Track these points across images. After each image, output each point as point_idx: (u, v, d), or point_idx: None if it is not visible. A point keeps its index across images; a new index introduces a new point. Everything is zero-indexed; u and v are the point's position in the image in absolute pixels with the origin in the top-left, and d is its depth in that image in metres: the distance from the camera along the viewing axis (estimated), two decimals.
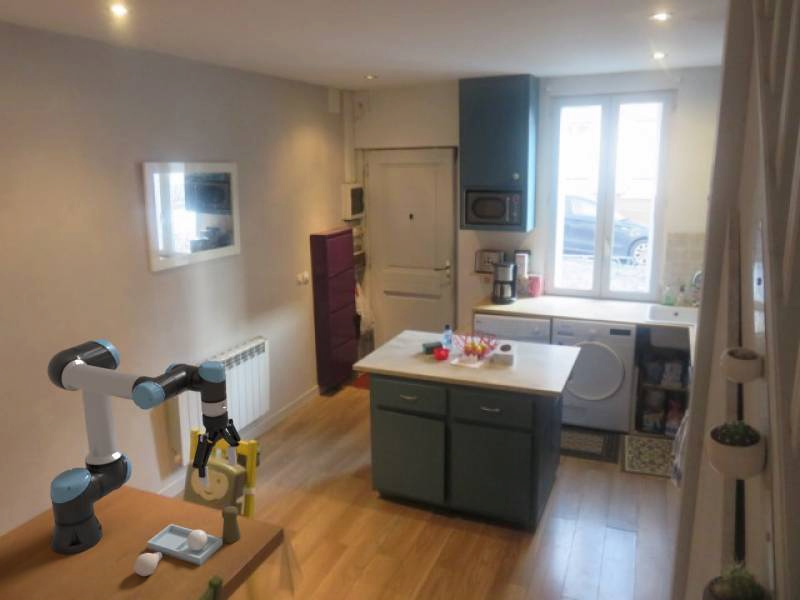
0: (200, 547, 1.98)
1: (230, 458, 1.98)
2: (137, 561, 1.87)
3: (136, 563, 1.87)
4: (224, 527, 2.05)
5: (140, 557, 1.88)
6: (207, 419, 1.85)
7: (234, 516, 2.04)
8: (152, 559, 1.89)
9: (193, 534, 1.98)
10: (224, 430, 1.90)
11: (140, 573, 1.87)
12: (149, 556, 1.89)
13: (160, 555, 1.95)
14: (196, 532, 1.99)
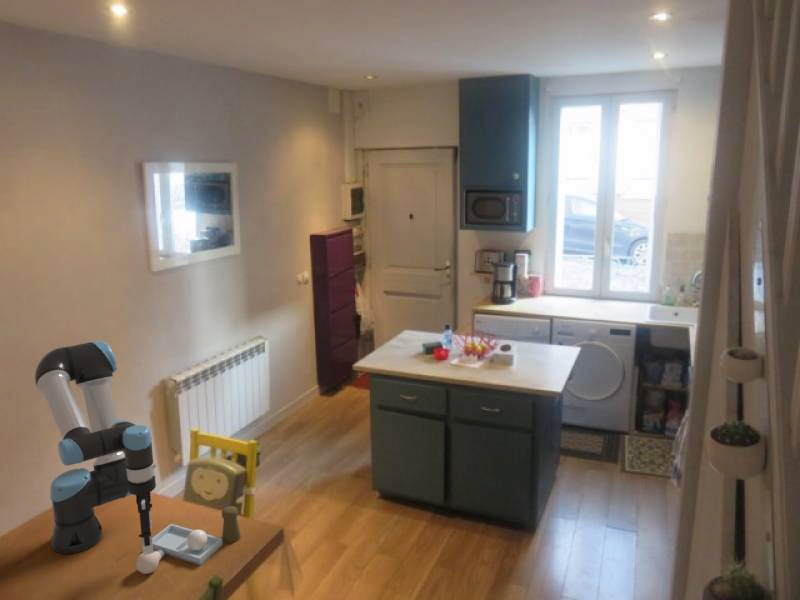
0: (200, 547, 1.98)
1: None
2: (139, 559, 1.88)
3: (138, 561, 1.88)
4: (224, 527, 2.05)
5: (142, 555, 1.89)
6: (142, 486, 1.81)
7: (234, 516, 2.04)
8: (154, 557, 1.90)
9: (193, 534, 1.98)
10: None
11: (142, 571, 1.88)
12: (151, 554, 1.90)
13: (162, 553, 1.96)
14: (196, 532, 1.99)
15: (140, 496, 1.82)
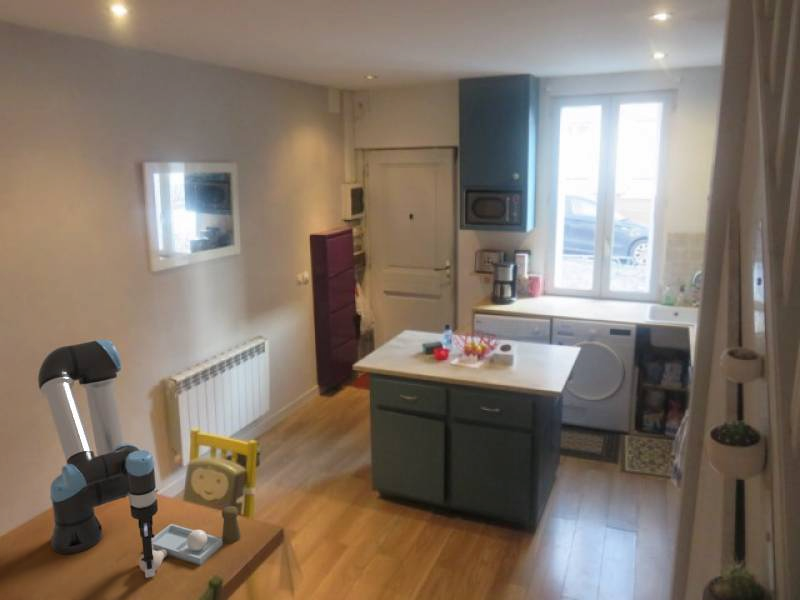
0: (200, 547, 1.98)
1: None
2: None
3: None
4: (224, 527, 2.05)
5: None
6: (144, 510, 1.83)
7: (234, 516, 2.04)
8: (157, 556, 1.90)
9: (193, 534, 1.98)
10: None
11: None
12: (154, 553, 1.90)
13: (165, 552, 1.97)
14: (196, 532, 1.99)
15: (142, 520, 1.84)
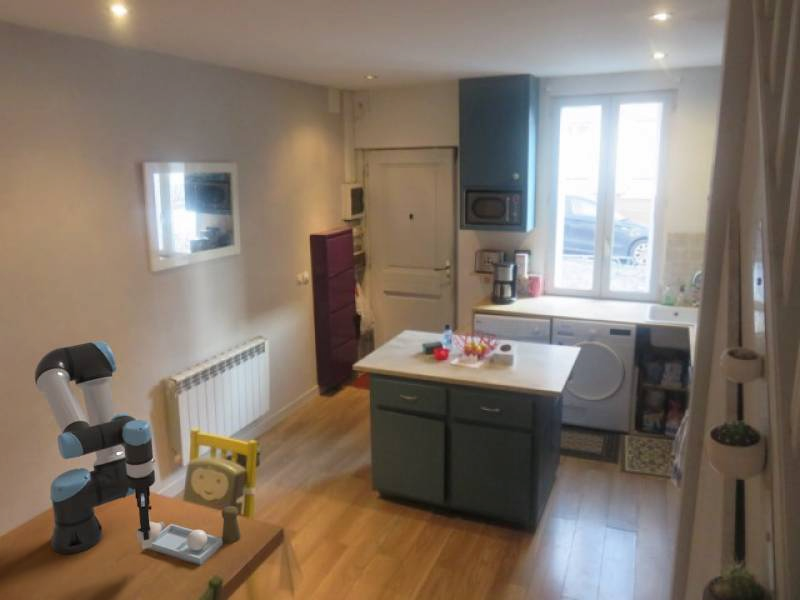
0: (200, 547, 1.98)
1: None
2: None
3: (138, 531, 1.87)
4: (224, 527, 2.05)
5: None
6: (141, 480, 1.81)
7: (234, 516, 2.04)
8: (154, 527, 1.88)
9: (193, 534, 1.98)
10: None
11: None
12: (151, 524, 1.88)
13: (163, 525, 1.94)
14: (196, 532, 1.99)
15: (139, 491, 1.82)
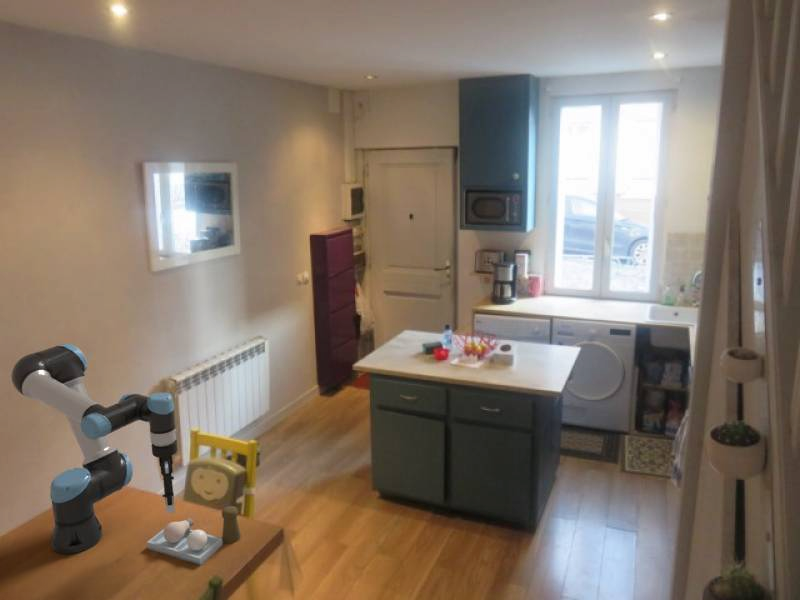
0: (200, 547, 1.98)
1: None
2: (164, 530, 2.01)
3: (164, 531, 2.01)
4: (224, 527, 2.05)
5: (167, 526, 2.02)
6: (165, 449, 1.93)
7: (234, 516, 2.04)
8: (177, 530, 2.01)
9: (193, 534, 1.98)
10: None
11: (167, 541, 2.01)
12: (175, 527, 2.01)
13: (191, 522, 2.08)
14: (196, 532, 1.99)
15: (163, 458, 1.93)
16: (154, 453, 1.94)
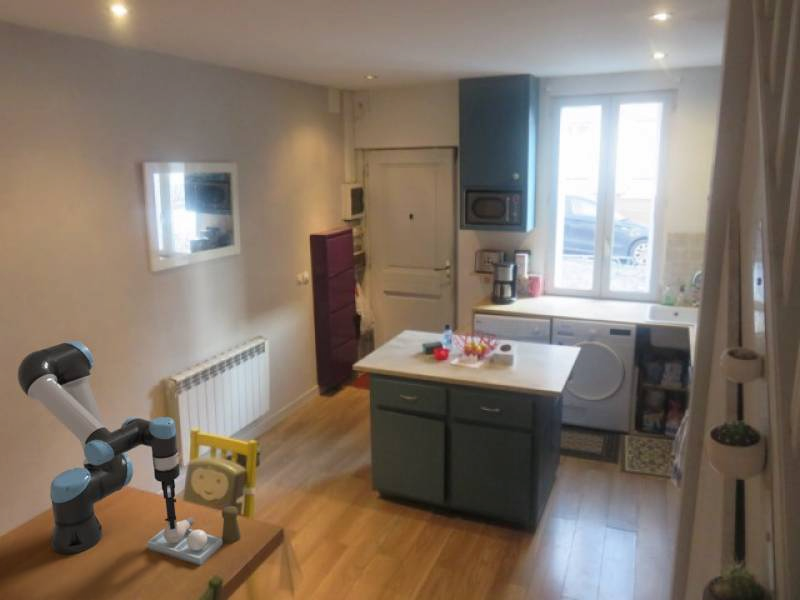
0: (200, 547, 1.98)
1: None
2: (165, 530, 2.01)
3: (164, 532, 2.01)
4: (224, 527, 2.05)
5: None
6: (167, 473, 1.95)
7: (234, 516, 2.04)
8: (178, 531, 2.00)
9: (193, 534, 1.98)
10: None
11: None
12: None
13: (191, 522, 2.07)
14: (196, 532, 1.99)
15: (165, 483, 1.95)
16: (156, 477, 1.95)
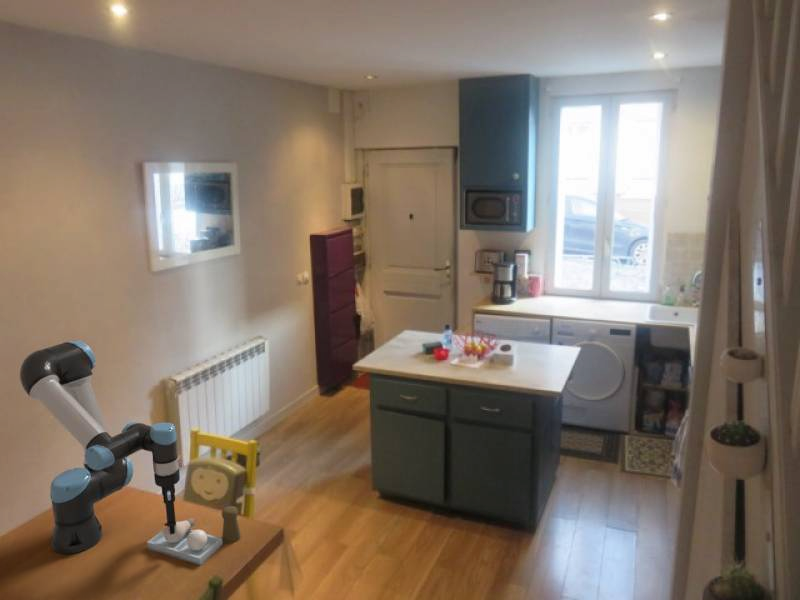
0: (200, 547, 1.98)
1: None
2: (165, 529, 2.02)
3: (164, 531, 2.02)
4: (224, 527, 2.05)
5: None
6: (168, 478, 1.95)
7: (234, 516, 2.04)
8: (177, 530, 2.01)
9: (193, 534, 1.98)
10: None
11: (167, 540, 2.01)
12: None
13: (192, 522, 2.07)
14: (196, 532, 1.99)
15: (166, 488, 1.96)
16: (157, 482, 1.96)
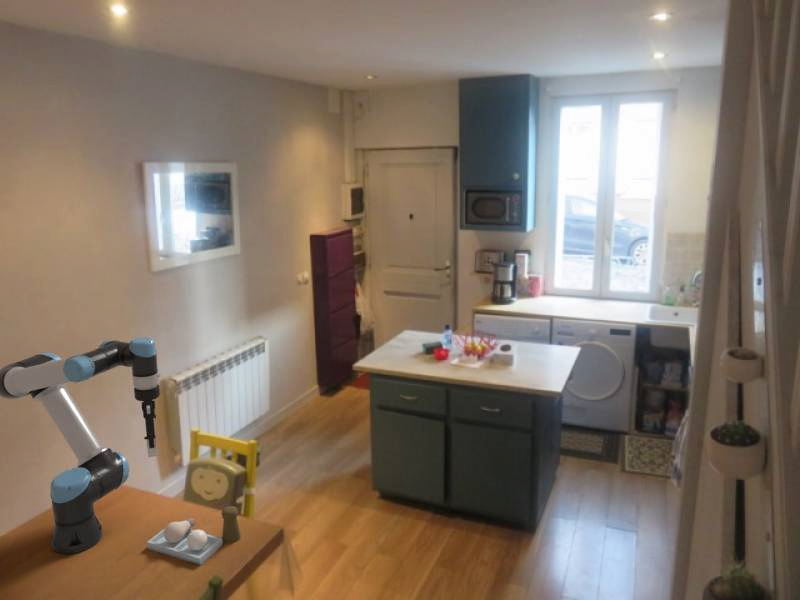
0: (200, 547, 1.98)
1: None
2: (165, 529, 2.02)
3: (164, 531, 2.02)
4: (224, 527, 2.05)
5: (167, 526, 2.02)
6: (147, 392, 1.95)
7: (234, 516, 2.04)
8: (177, 530, 2.01)
9: (193, 534, 1.98)
10: (154, 402, 2.01)
11: (167, 540, 2.01)
12: (175, 527, 2.01)
13: (192, 522, 2.07)
14: (196, 532, 1.99)
15: (145, 402, 1.95)
16: (136, 397, 1.95)
